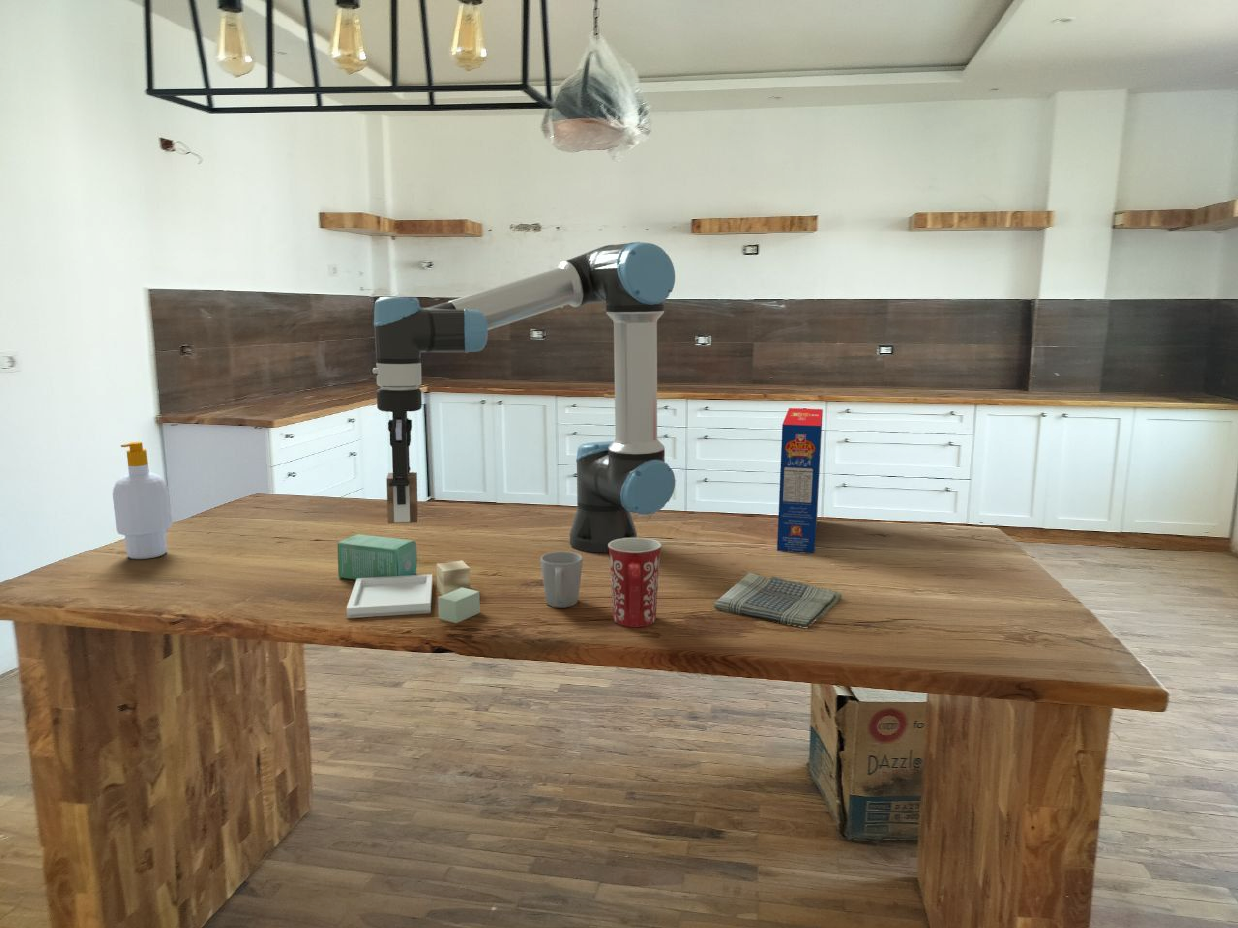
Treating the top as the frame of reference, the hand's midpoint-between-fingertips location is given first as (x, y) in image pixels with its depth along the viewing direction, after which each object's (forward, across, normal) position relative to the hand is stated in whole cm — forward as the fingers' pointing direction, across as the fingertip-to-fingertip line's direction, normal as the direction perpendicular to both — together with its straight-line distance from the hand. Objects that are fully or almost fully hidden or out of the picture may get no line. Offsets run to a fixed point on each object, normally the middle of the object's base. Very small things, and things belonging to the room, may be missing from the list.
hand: (402, 517), depth 152 cm
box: (+16, -15, -6) cm, 23 cm away
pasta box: (+14, -27, +88) cm, 93 cm away
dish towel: (+15, +14, +66) cm, 70 cm away
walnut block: (0, 0, 0) cm, 0 cm away
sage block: (+16, +9, +10) cm, 21 cm away
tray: (+16, -1, -2) cm, 16 cm away
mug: (+15, +19, +38) cm, 45 cm away
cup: (+15, +8, +28) cm, 32 cm away
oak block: (+16, -4, +9) cm, 18 cm away
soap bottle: (+16, -38, -55) cm, 69 cm away
